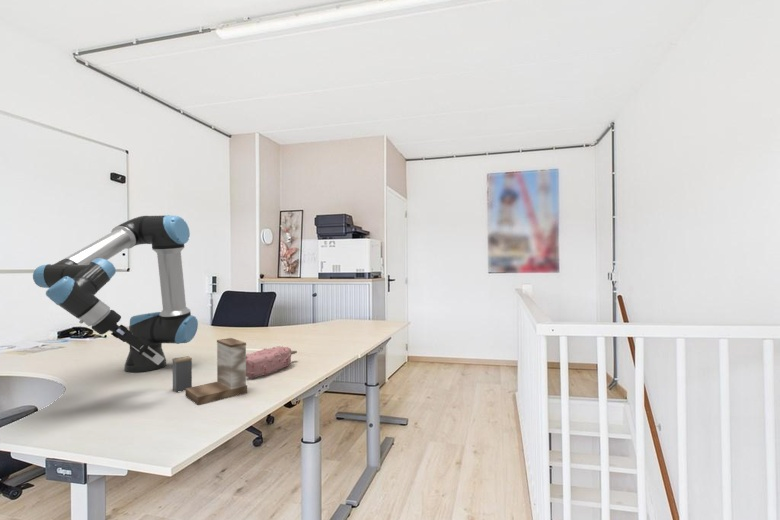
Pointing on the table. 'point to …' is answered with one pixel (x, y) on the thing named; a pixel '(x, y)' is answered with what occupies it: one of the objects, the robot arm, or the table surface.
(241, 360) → the stand
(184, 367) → the case
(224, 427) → the table surface
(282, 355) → the ice cream bar
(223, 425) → the table surface
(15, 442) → the table surface
